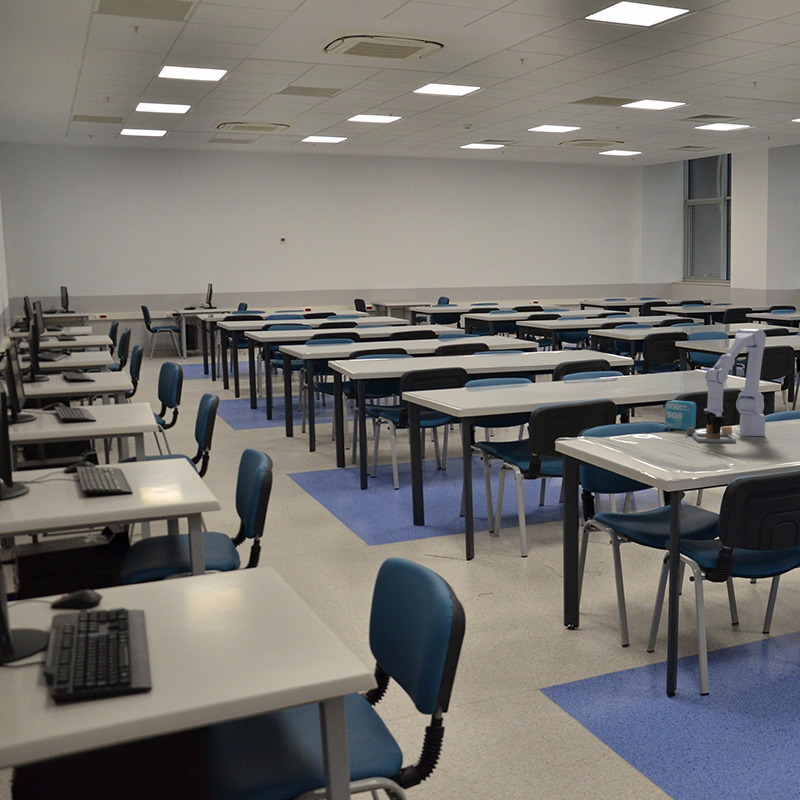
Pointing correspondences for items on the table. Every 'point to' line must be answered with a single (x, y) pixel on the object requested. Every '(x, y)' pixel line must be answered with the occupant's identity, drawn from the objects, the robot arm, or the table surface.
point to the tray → (723, 439)
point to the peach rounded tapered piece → (726, 430)
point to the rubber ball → (690, 431)
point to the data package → (680, 414)
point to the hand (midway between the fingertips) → (714, 431)
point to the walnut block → (711, 433)
